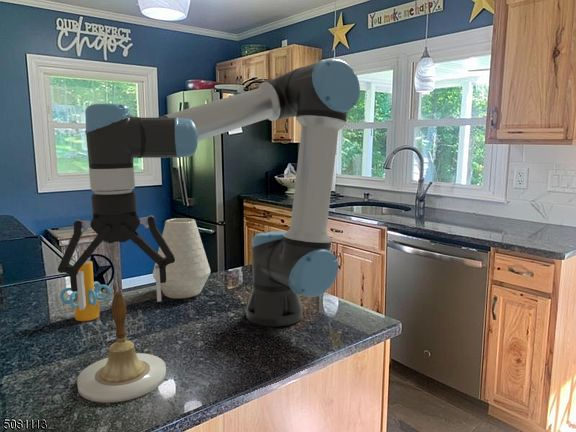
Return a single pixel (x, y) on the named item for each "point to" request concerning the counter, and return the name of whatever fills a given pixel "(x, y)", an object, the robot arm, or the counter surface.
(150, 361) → the hub plate
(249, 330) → the counter surface
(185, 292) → the vase
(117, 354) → the hand bell
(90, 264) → the cylinder
